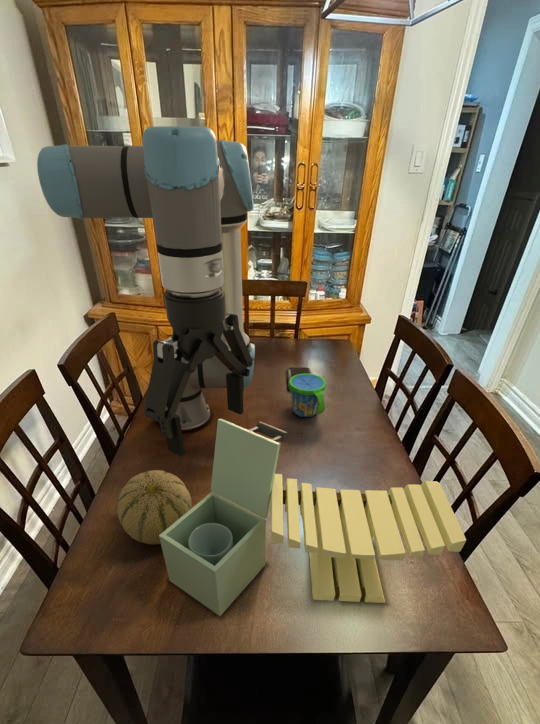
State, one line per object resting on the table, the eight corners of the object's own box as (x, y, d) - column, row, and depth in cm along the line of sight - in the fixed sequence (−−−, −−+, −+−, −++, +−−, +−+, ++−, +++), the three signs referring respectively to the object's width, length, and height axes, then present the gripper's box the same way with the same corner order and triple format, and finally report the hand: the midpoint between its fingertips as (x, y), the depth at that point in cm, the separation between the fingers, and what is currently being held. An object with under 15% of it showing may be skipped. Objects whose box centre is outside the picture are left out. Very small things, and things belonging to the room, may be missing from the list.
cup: (227, 595, 75) (224, 560, 68) (187, 586, 76) (180, 551, 70) (240, 562, 81) (238, 527, 74) (202, 553, 82) (198, 518, 76)
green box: (220, 616, 72) (215, 571, 64) (169, 580, 78) (158, 535, 70) (265, 565, 81) (265, 519, 73) (216, 536, 87) (212, 491, 79)
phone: (288, 387, 134) (287, 367, 146) (288, 391, 135) (287, 370, 147) (312, 388, 134) (309, 367, 146) (312, 391, 135) (309, 370, 146)
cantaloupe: (153, 499, 95) (142, 446, 86) (208, 519, 91) (202, 466, 81) (109, 544, 85) (90, 490, 76) (168, 569, 80) (156, 515, 71)
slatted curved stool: (409, 537, 87) (435, 473, 76) (431, 604, 75) (466, 539, 64) (267, 530, 87) (272, 465, 76) (266, 597, 74) (271, 530, 63)
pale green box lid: (278, 444, 66) (306, 430, 73) (217, 419, 72) (249, 408, 79) (264, 519, 72) (291, 499, 80) (210, 490, 78) (240, 474, 85)
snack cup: (333, 421, 121) (337, 390, 115) (301, 428, 118) (303, 397, 112) (308, 396, 132) (311, 367, 126) (278, 403, 129) (279, 373, 123)
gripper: (135, 326, 41) (166, 483, 55) (277, 270, 57) (273, 403, 70) (88, 310, 45) (128, 462, 58) (234, 261, 60) (239, 390, 74)
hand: (208, 430), depth 64 cm, fingers open, 13 cm apart
